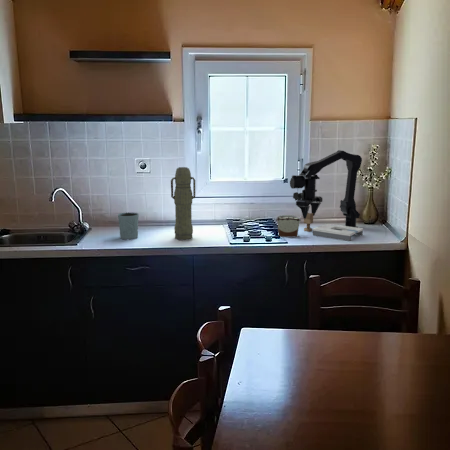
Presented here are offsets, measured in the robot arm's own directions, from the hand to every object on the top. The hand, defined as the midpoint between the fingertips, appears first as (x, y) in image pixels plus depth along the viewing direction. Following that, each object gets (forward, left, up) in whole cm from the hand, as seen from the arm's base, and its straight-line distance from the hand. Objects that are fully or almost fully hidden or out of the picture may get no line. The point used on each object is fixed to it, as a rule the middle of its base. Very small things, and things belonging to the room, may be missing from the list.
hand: (308, 217), depth 280 cm
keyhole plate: (0, +17, -7) cm, 18 cm away
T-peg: (0, 0, -7) cm, 7 cm away
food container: (+16, -3, -8) cm, 18 cm away
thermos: (+53, -41, -8) cm, 68 cm away
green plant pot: (+69, -63, -8) cm, 94 cm away
